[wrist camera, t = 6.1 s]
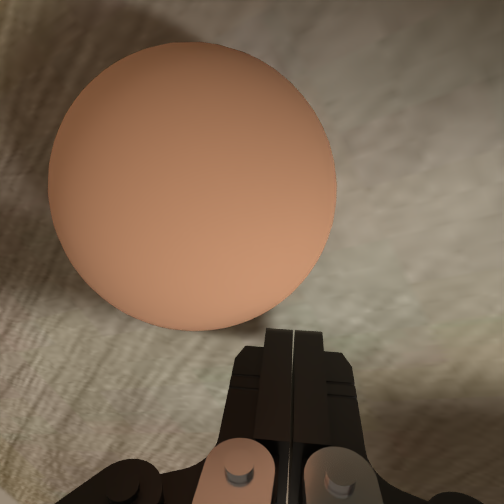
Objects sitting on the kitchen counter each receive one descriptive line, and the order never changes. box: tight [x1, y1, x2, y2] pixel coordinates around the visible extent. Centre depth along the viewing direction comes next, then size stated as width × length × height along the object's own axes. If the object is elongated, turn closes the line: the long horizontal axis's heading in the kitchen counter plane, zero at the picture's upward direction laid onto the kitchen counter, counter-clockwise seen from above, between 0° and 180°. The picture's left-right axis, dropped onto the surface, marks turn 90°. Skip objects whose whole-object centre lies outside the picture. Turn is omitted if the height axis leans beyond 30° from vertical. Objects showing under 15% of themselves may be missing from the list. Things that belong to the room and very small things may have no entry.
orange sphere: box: [48, 42, 337, 331], centre depth 8 cm, size 5×5×5 cm
